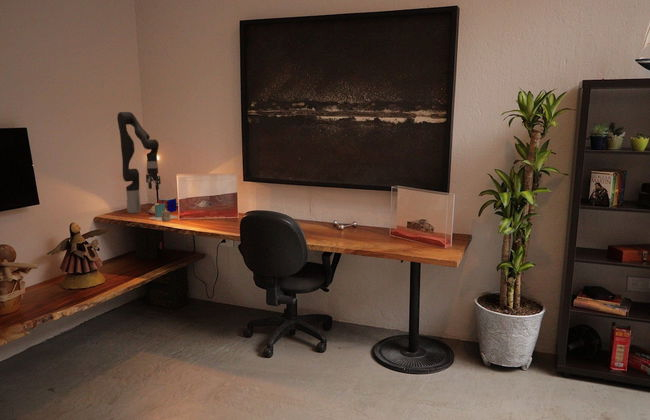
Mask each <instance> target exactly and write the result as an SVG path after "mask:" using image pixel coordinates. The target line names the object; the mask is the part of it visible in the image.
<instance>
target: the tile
mask: <svg viewBox="0 0 650 420" xmlns="http://www.w3.org/2000/svg"><path fill="white" fill-rule="evenodd" d="M153 208H154V217H161V216H162V214H161V212H162V211H165V203H162V204H158V203H157V204H154V207H153Z"/></svg>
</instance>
